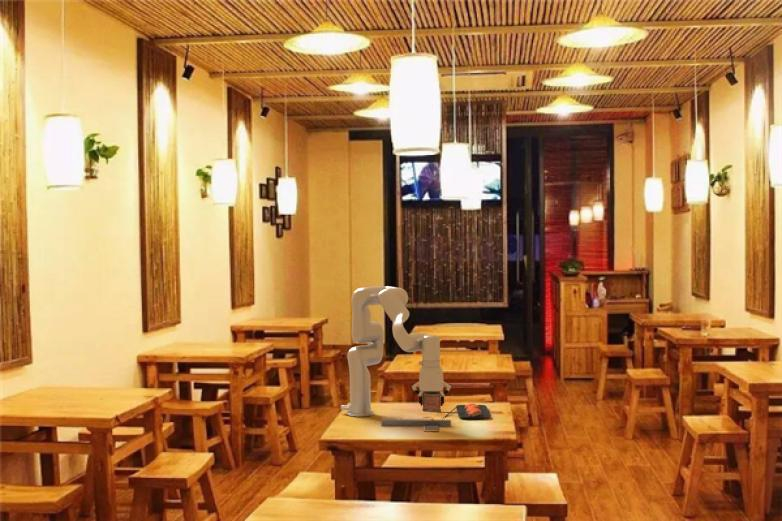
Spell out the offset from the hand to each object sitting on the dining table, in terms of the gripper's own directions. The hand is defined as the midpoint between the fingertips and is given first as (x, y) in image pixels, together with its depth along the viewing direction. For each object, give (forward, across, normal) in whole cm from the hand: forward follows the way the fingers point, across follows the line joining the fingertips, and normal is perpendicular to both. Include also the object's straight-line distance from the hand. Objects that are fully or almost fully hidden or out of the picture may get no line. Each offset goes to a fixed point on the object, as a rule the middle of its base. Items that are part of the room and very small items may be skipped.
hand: (431, 405), depth 364 cm
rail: (+10, -7, +7) cm, 14 cm away
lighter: (+3, 0, 0) cm, 3 cm away
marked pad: (+10, 0, 0) cm, 10 cm away
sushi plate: (+11, +10, +33) cm, 36 cm away
